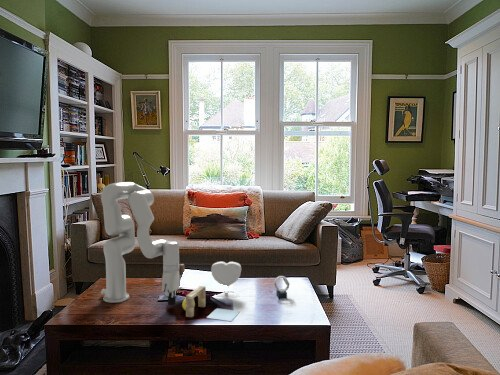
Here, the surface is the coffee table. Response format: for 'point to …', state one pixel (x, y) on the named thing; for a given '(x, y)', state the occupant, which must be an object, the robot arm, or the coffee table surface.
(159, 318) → the coffee table surface
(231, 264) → the heart sculpture
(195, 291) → the bridge
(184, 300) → the ball
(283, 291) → the watch
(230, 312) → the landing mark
